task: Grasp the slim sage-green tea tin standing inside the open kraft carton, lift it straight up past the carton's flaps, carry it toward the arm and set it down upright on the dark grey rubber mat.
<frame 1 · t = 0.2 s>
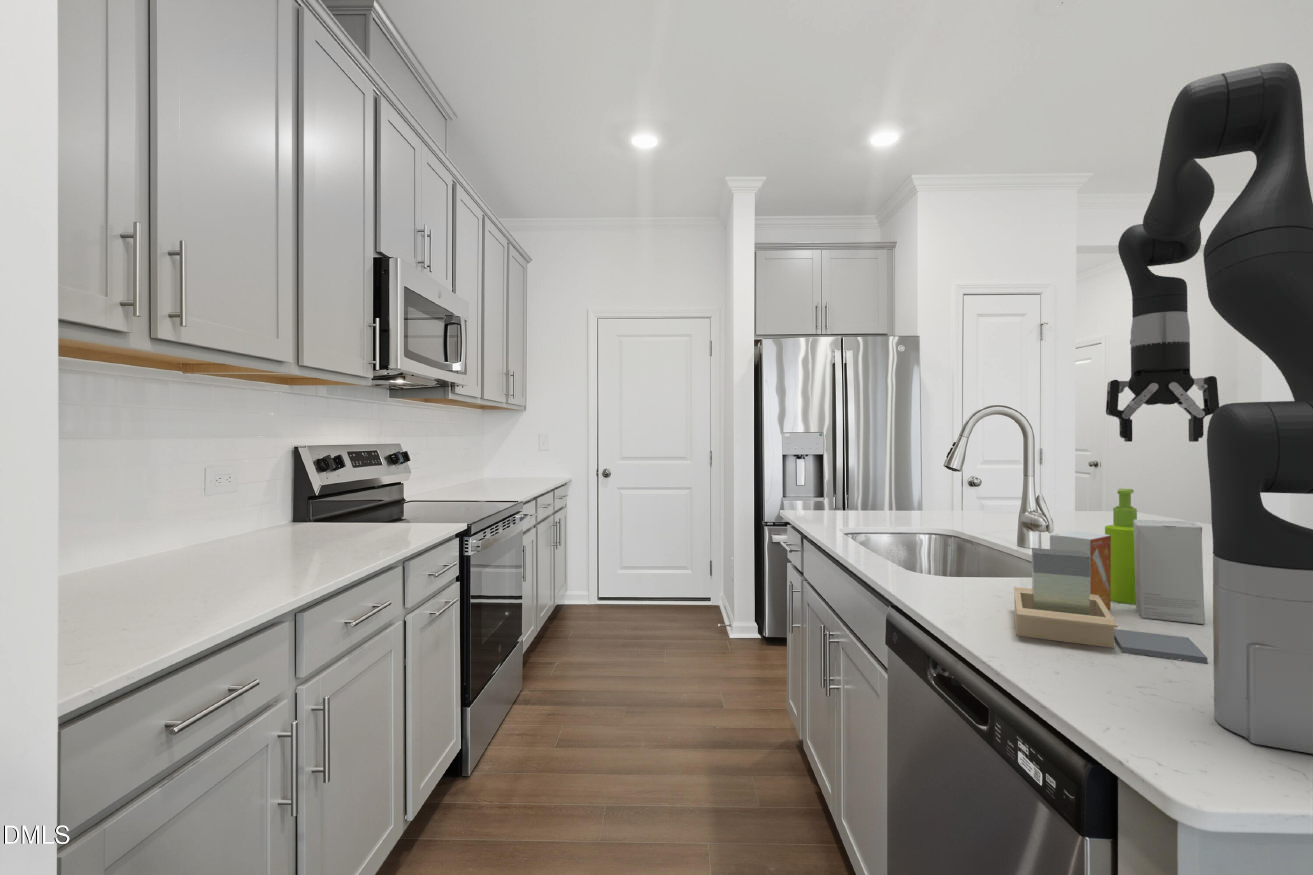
hand: (1160, 441, 100), 29 cm above the table, tool pointing down, fingers open, 8 cm apart
carton: (1060, 629, 94), on the table
mat: (1155, 647, 86), on the table
soap dispenser: (1125, 600, 110), on the table
skincare box: (1167, 618, 100), on the table
small box: (1080, 611, 104), on the table
tea tin: (1060, 630, 94), resting in carton
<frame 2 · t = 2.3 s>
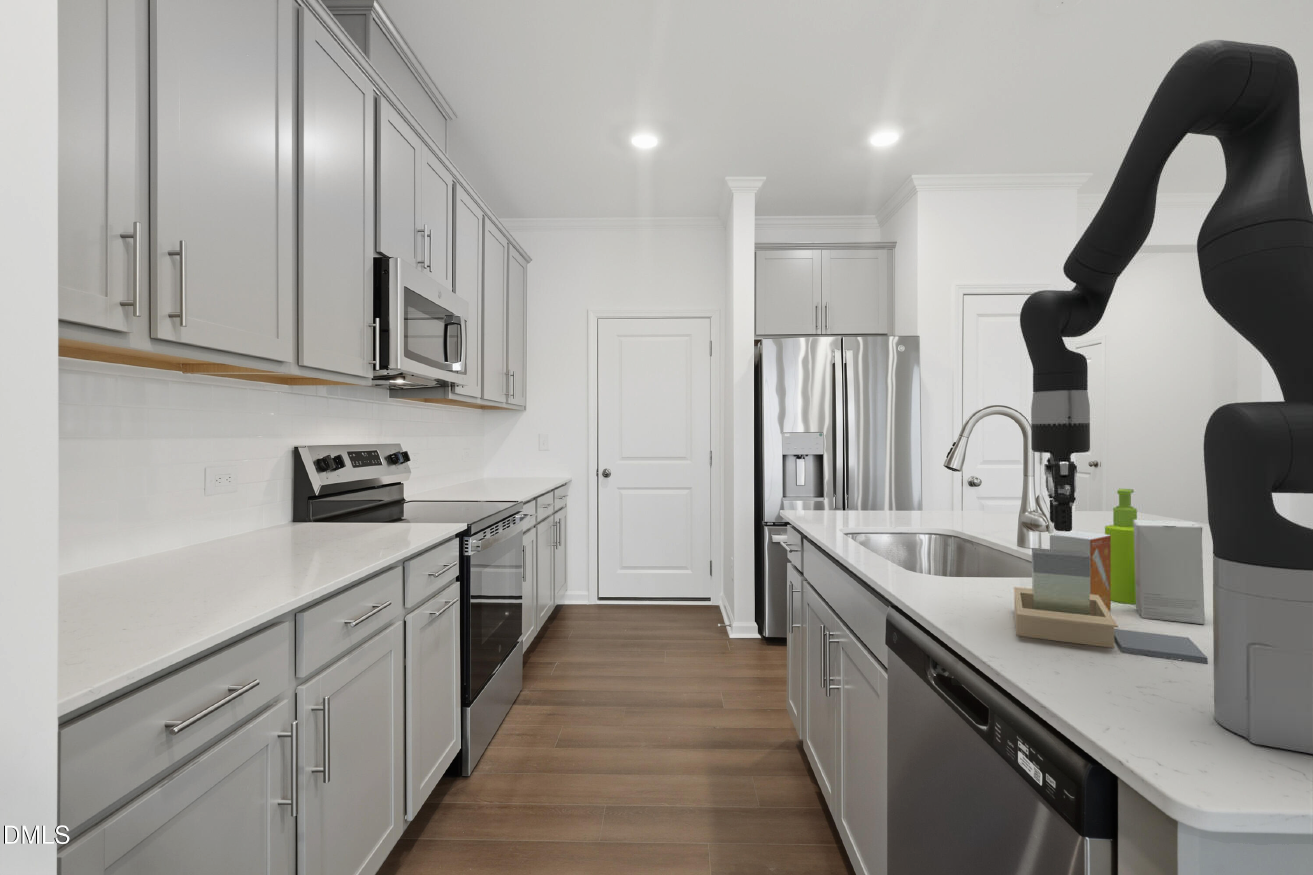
hand: (1060, 526, 94), 16 cm above the table, tool pointing down, fingers open, 8 cm apart
nothing on the table moved.
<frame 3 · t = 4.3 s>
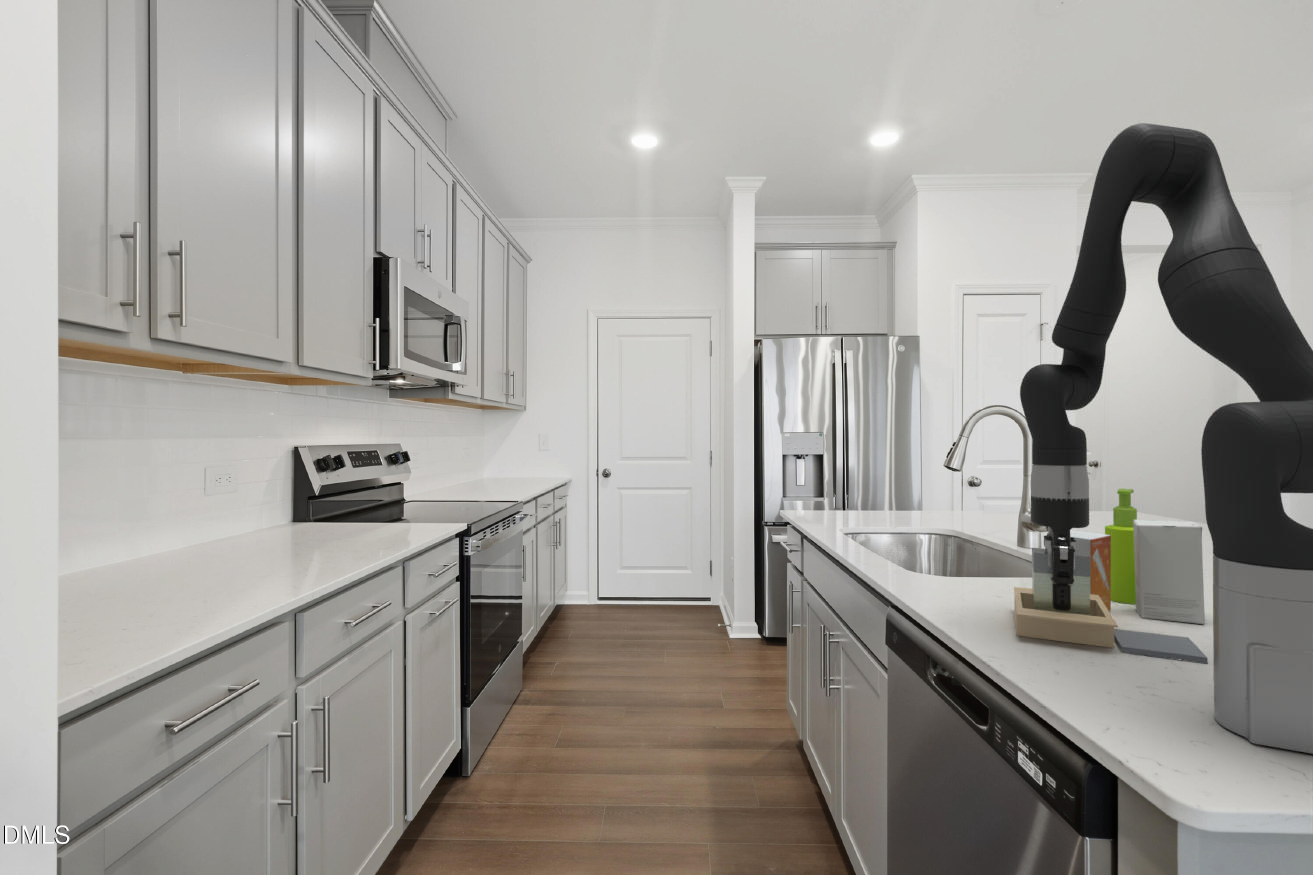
hand: (1060, 604, 94), 4 cm above the table, tool pointing down, fingers closed on tea tin, 4 cm apart
tea tin: (1060, 630, 94), resting in carton, touching gripper
everything else where it was.
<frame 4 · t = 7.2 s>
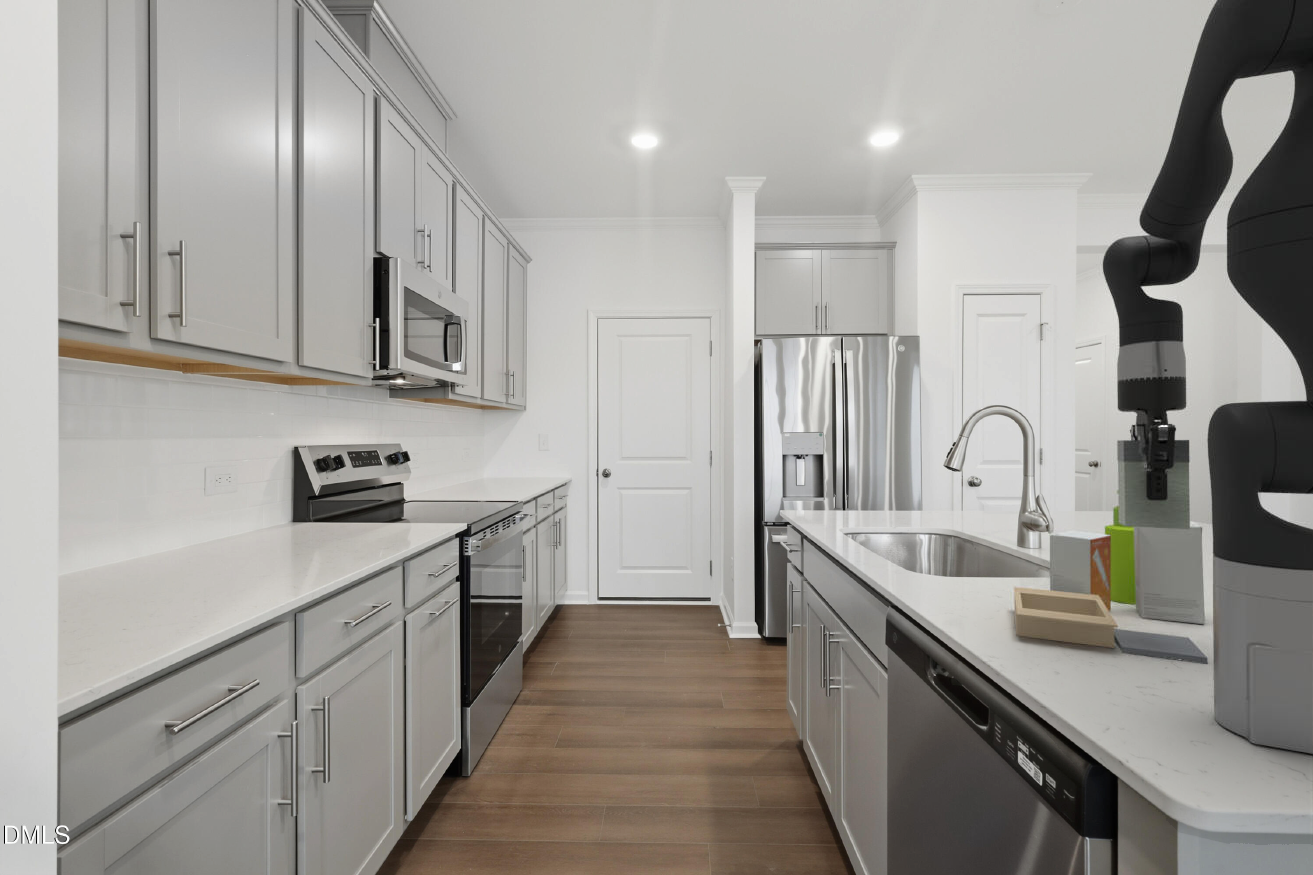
hand: (1152, 498, 86), 21 cm above the table, tool pointing down, fingers closed on tea tin, 4 cm apart
tea tin: (1152, 525, 85), point 17 cm above the table, touching gripper
everything else where it was.
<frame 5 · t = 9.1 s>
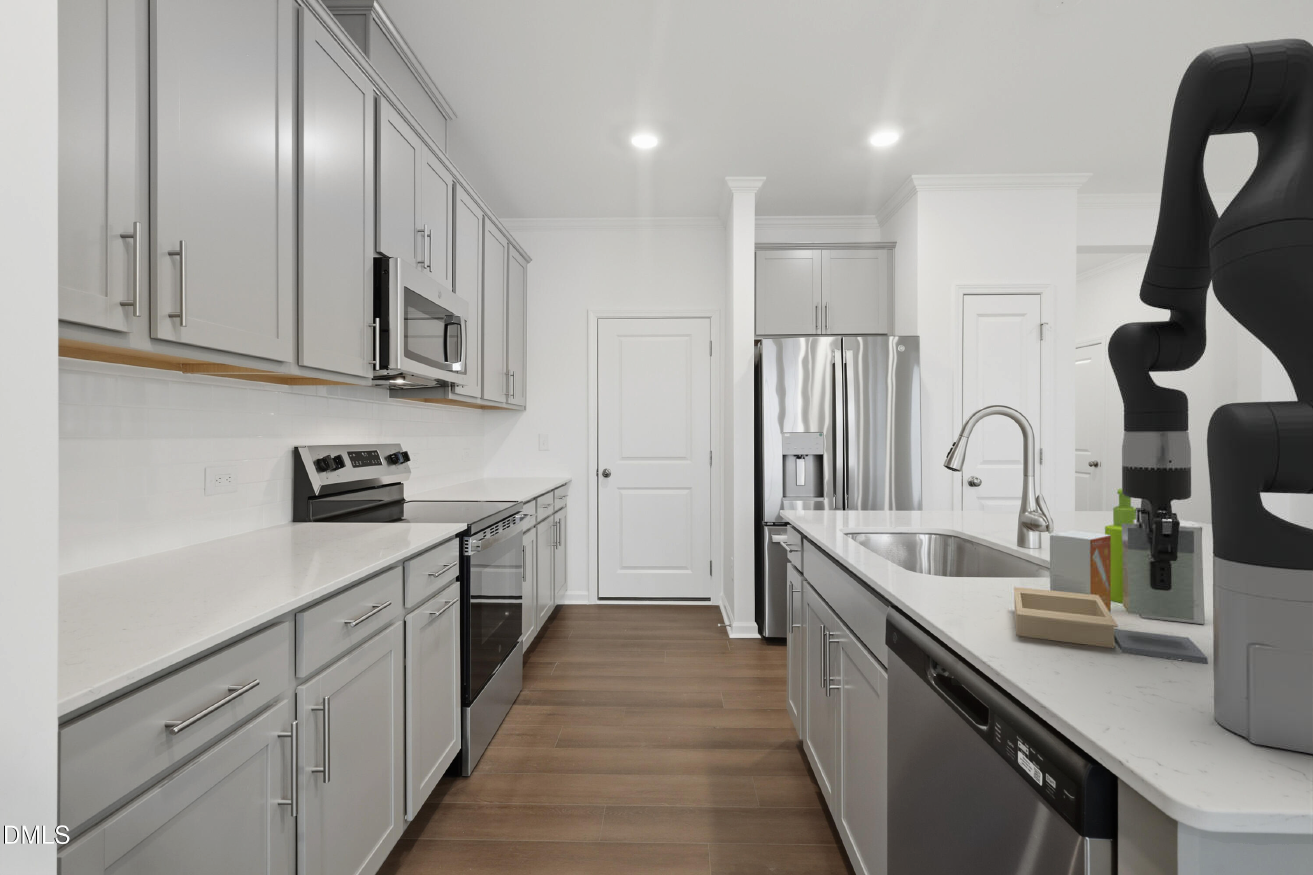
hand: (1156, 584, 86), 9 cm above the table, tool pointing down, fingers closed on tea tin, 4 cm apart
tea tin: (1157, 612, 86), point 5 cm above the table, touching gripper
everything else where it was.
when the fingers open (6 cm above the table, at t = 10.4 s): tea tin drops 2 cm, resting on mat.
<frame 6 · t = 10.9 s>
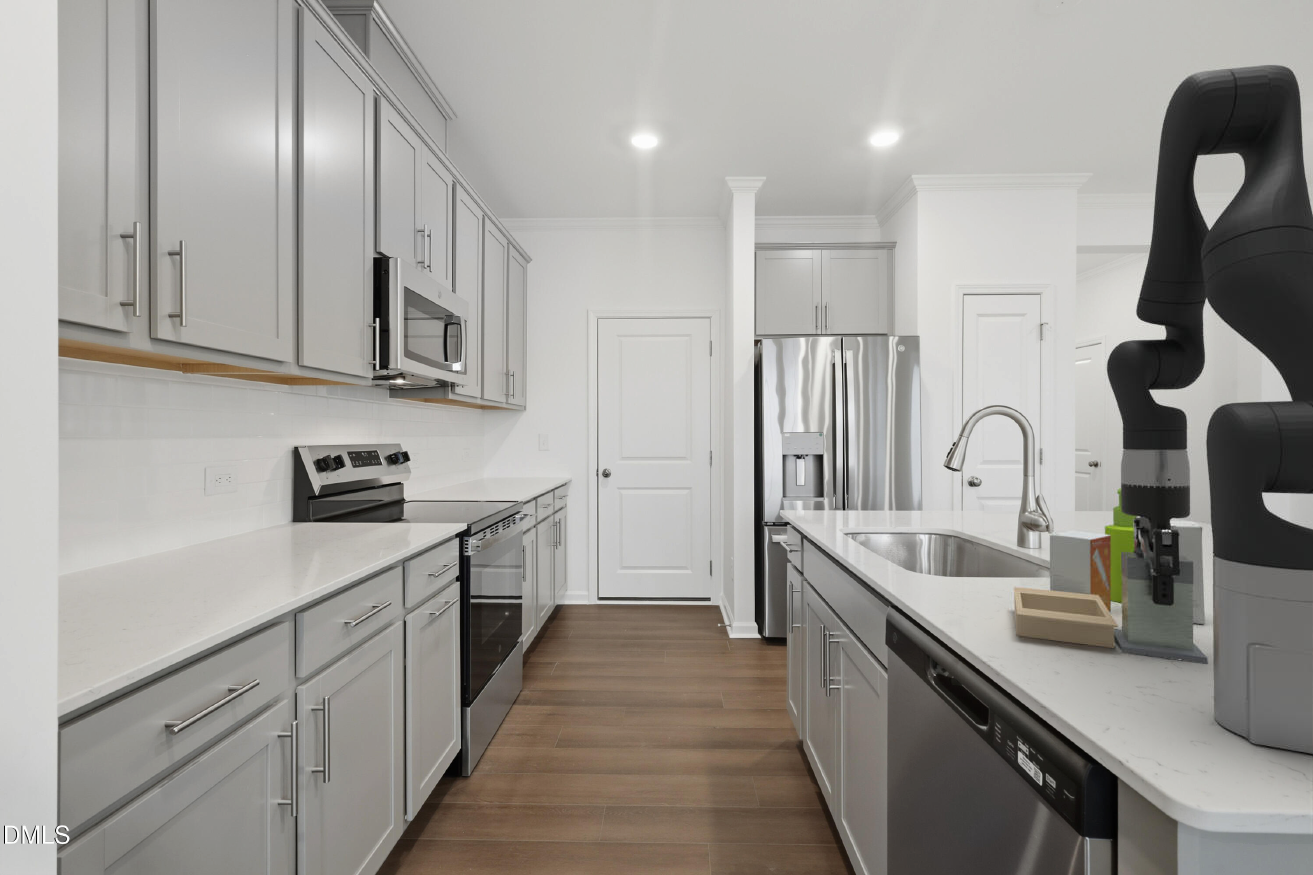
hand: (1155, 597, 86), 7 cm above the table, tool pointing down, fingers open, 8 cm apart
tea tin: (1156, 641, 86), point 1 cm above the table, touching mat
everything else where it was.
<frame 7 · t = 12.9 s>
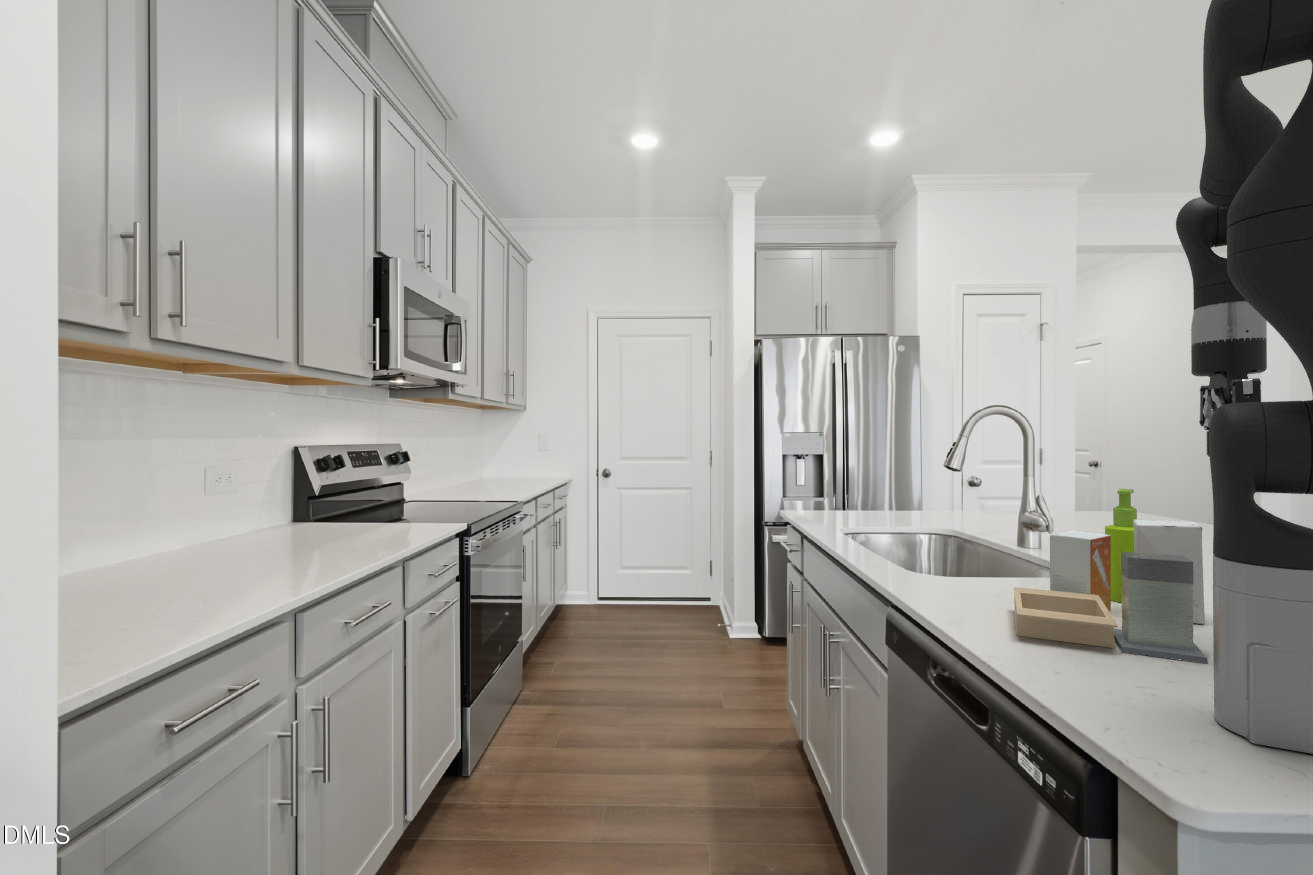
hand: (1228, 458, 83), 27 cm above the table, tool pointing down, fingers open, 8 cm apart
nothing on the table moved.
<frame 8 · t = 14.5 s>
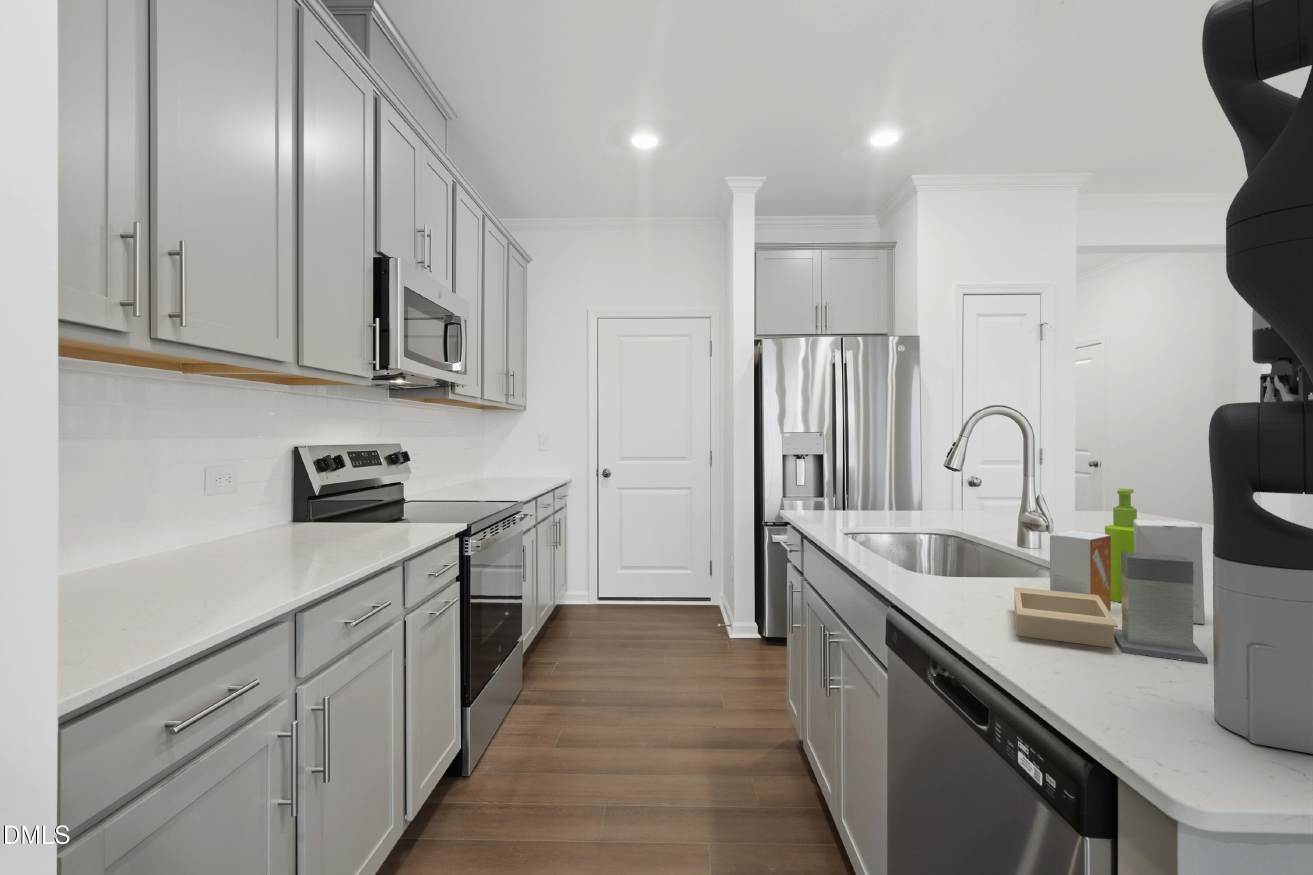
hand: (1292, 447, 81), 28 cm above the table, tool pointing down, fingers open, 8 cm apart
nothing on the table moved.
at the end: tea tin inside the target area on the mat (0.1 cm from its centre), point 0.8 cm above the mat's base; tea tin tilted 0°; the gripper is holding nothing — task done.
